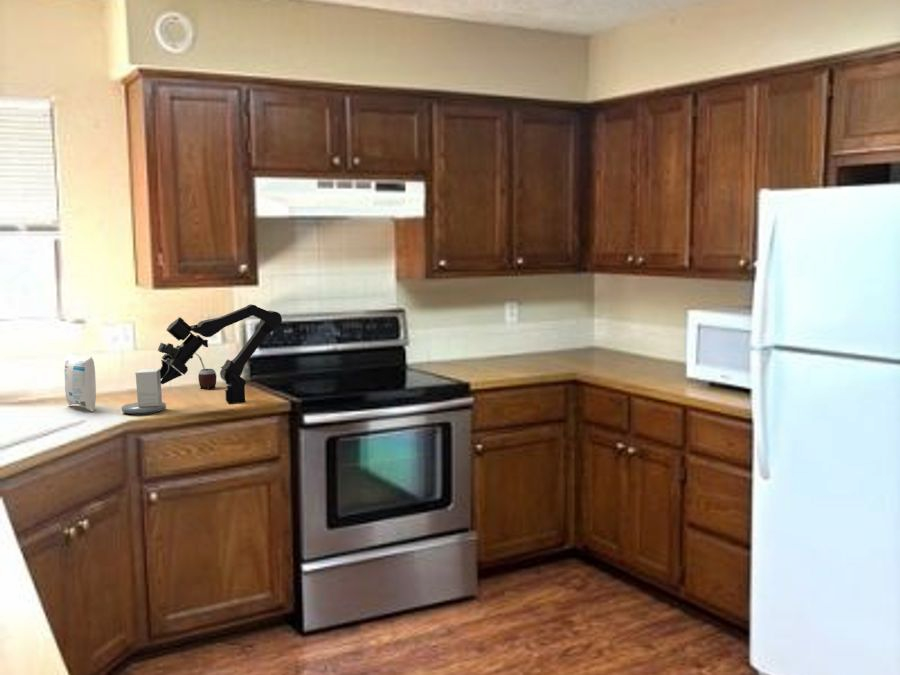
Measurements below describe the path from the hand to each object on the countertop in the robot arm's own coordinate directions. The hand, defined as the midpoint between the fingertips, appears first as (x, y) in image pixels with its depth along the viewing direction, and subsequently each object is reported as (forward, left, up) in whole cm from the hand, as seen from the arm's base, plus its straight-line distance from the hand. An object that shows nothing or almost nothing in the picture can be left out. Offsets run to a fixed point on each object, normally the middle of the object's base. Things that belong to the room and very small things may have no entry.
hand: (158, 381), depth 321 cm
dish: (+6, +1, -10) cm, 12 cm away
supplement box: (+3, +1, -8) cm, 9 cm away
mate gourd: (-20, -38, -11) cm, 44 cm away
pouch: (+27, -15, -11) cm, 32 cm away
